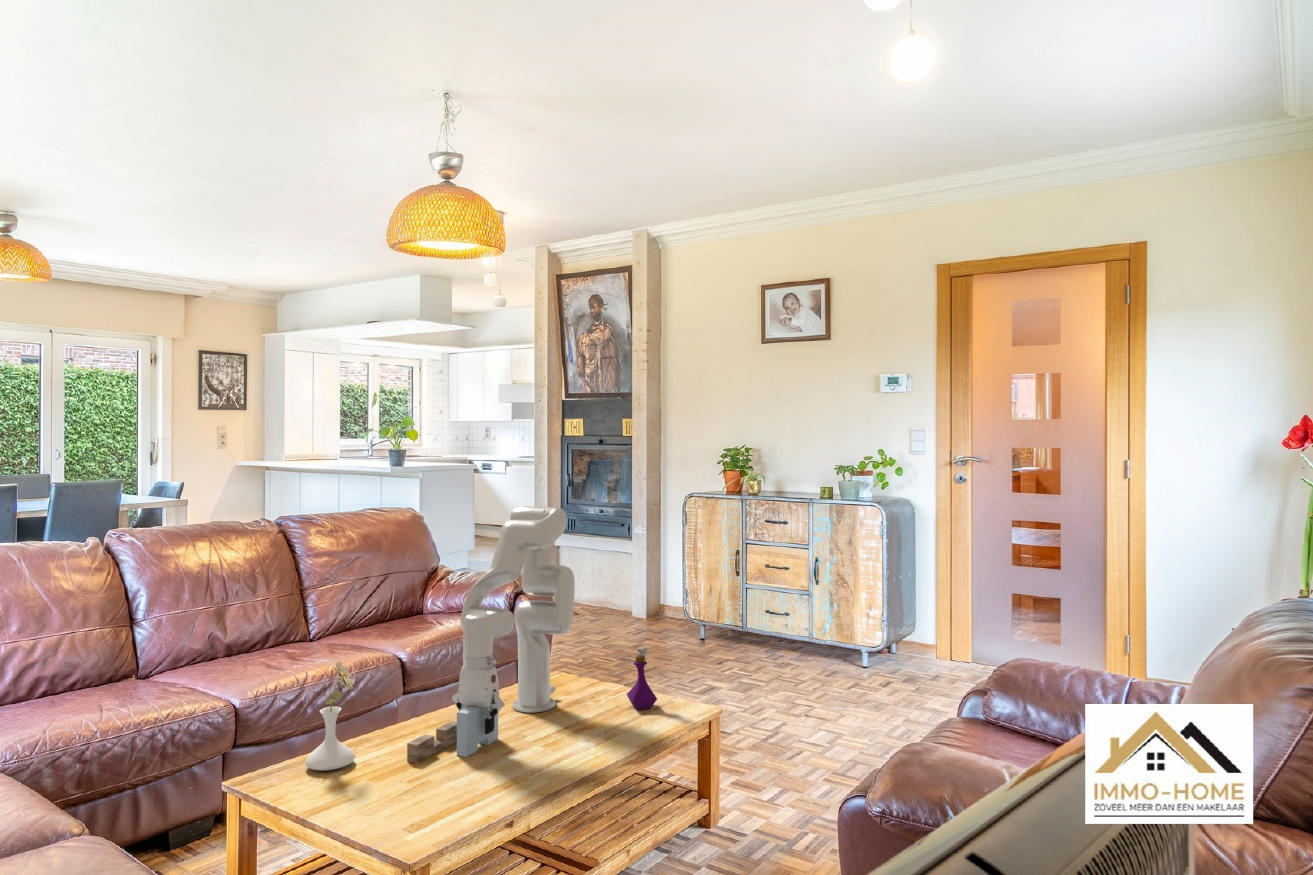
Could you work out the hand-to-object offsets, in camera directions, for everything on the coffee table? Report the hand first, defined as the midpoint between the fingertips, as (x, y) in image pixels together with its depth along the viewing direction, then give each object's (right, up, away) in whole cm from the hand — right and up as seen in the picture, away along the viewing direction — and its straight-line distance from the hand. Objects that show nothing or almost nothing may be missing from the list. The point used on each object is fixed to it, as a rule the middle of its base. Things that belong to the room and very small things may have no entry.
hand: (478, 729), depth 218 cm
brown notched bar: (-11, -4, -2) cm, 12 cm away
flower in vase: (-33, -5, -12) cm, 36 cm away
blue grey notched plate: (0, -4, 0) cm, 4 cm away
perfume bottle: (+42, -5, +32) cm, 53 cm away
